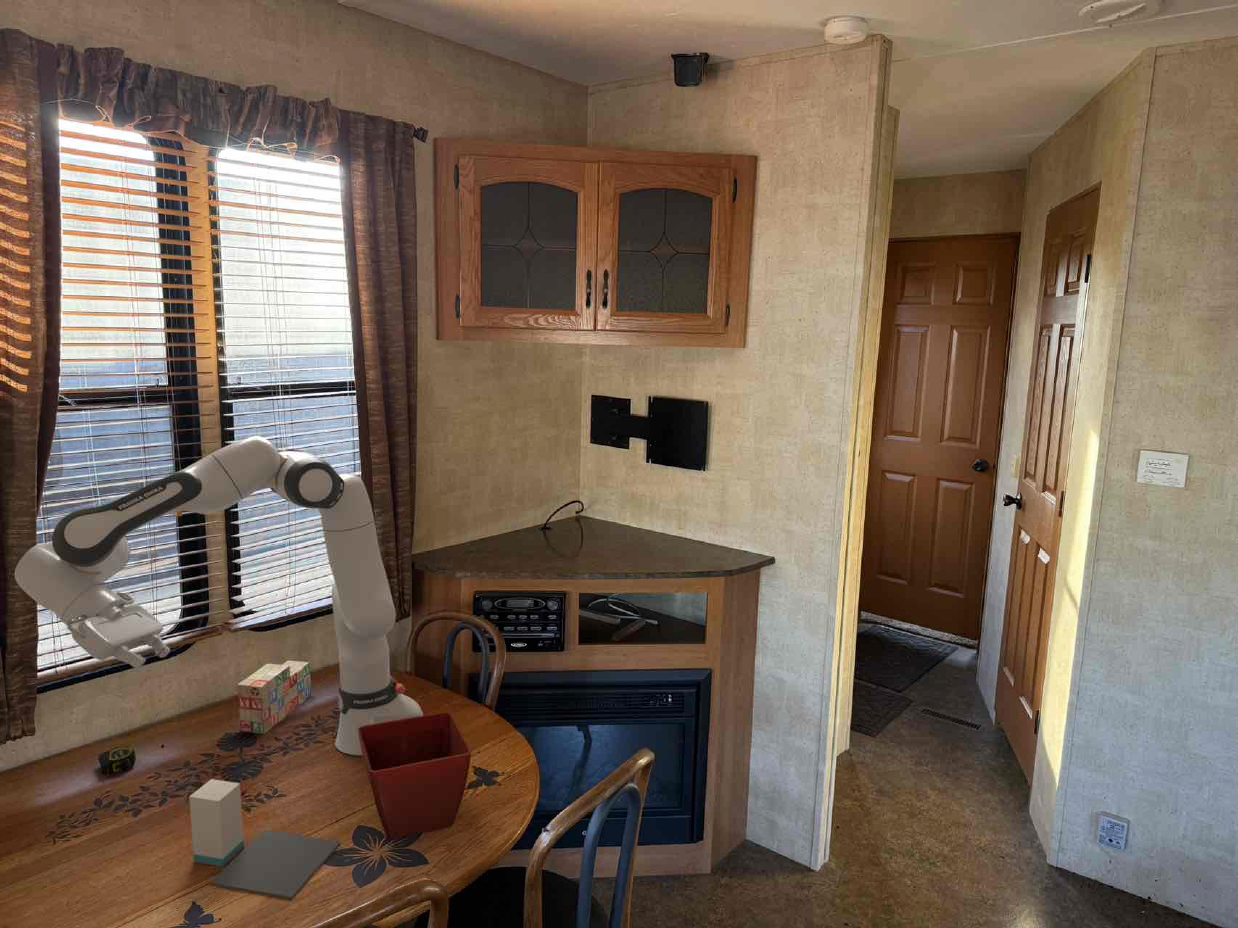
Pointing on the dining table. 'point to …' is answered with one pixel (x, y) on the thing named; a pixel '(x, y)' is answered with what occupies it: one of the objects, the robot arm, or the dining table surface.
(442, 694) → the dining table surface
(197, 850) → the cream block
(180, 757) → the dining table surface
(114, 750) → the tape measure
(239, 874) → the mat
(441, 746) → the plant pot
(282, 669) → the stack of blocks
